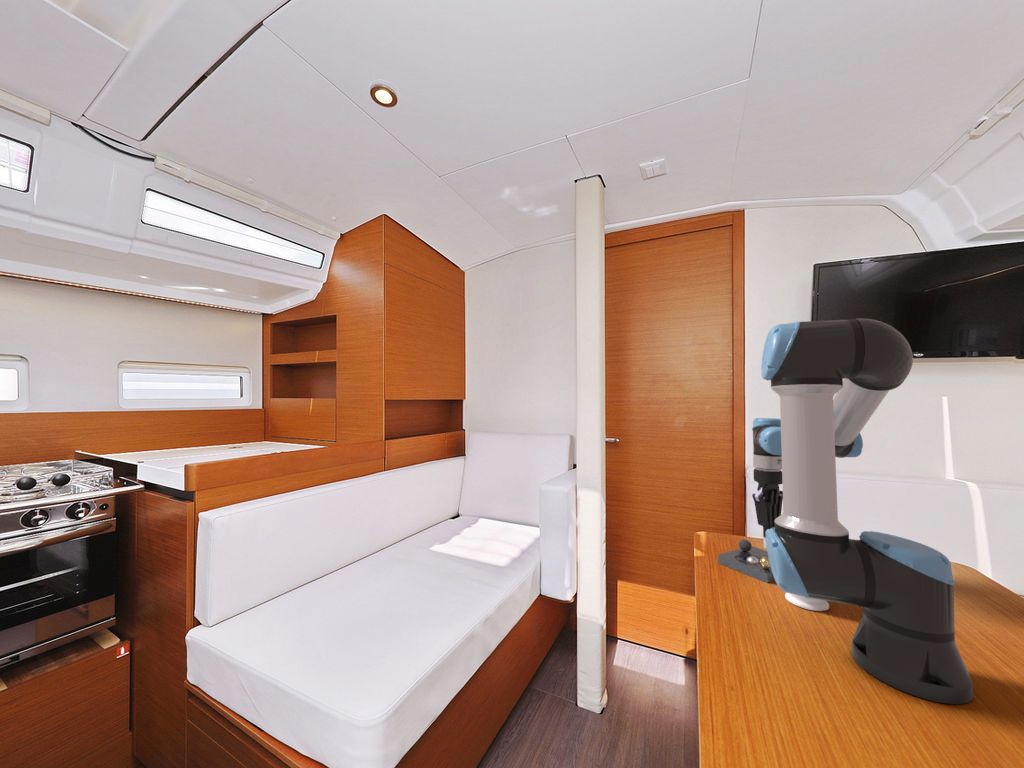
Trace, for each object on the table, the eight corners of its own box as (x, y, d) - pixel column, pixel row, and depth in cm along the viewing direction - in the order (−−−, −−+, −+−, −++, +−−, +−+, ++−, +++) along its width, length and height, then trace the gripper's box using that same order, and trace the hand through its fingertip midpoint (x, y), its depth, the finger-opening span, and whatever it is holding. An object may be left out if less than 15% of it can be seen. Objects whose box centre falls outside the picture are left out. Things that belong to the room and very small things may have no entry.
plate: (767, 583, 103) (767, 573, 103) (718, 563, 115) (718, 554, 115) (799, 571, 110) (799, 562, 110) (750, 553, 123) (750, 545, 123)
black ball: (747, 554, 116) (747, 542, 116) (736, 550, 119) (736, 538, 119) (754, 552, 117) (753, 540, 118) (743, 548, 120) (742, 537, 121)
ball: (755, 560, 109) (762, 557, 111) (743, 555, 112) (750, 553, 114) (755, 572, 109) (762, 569, 111) (743, 567, 112) (750, 565, 114)
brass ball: (768, 571, 104) (768, 560, 104) (757, 567, 107) (757, 556, 107) (775, 569, 105) (774, 558, 106) (763, 565, 108) (763, 554, 108)
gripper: (768, 473, 110) (770, 557, 109) (793, 469, 116) (795, 549, 115) (742, 468, 117) (744, 548, 116) (767, 465, 123) (768, 541, 122)
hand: (769, 548), depth 116 cm, fingers closed
